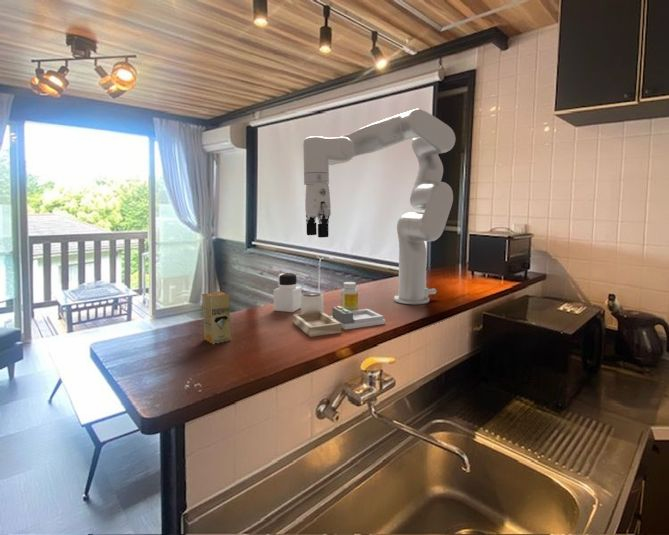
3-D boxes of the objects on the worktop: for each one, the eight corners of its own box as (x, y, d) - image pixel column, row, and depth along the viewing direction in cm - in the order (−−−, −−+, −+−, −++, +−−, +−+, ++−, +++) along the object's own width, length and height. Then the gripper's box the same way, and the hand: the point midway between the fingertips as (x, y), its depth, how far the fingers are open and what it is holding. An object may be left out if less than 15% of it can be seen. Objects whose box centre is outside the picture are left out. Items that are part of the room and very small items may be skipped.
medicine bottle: (302, 307, 136) (301, 272, 134) (293, 312, 129) (292, 276, 127) (283, 305, 138) (282, 271, 136) (273, 310, 132) (272, 274, 130)
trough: (293, 322, 118) (293, 314, 117) (321, 319, 122) (321, 311, 121) (310, 336, 105) (310, 327, 105) (341, 332, 109) (341, 323, 109)
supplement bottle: (337, 311, 130) (337, 282, 129) (350, 308, 134) (350, 280, 132) (348, 315, 126) (348, 285, 125) (361, 312, 129) (361, 283, 128)
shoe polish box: (231, 340, 103) (229, 294, 101) (212, 344, 100) (210, 297, 98) (222, 335, 107) (220, 291, 105) (204, 339, 103) (202, 294, 102)
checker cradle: (367, 314, 126) (367, 300, 125) (385, 323, 117) (385, 308, 116) (329, 319, 121) (329, 305, 120) (345, 329, 111) (345, 313, 111)
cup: (318, 312, 129) (318, 291, 128) (326, 318, 123) (326, 295, 122) (297, 315, 126) (297, 293, 125) (305, 320, 120) (305, 297, 119)
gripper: (339, 178, 115) (339, 237, 118) (317, 181, 131) (318, 233, 133) (315, 177, 112) (316, 238, 115) (295, 181, 128) (296, 234, 130)
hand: (317, 236), depth 124 cm, fingers open, 9 cm apart
